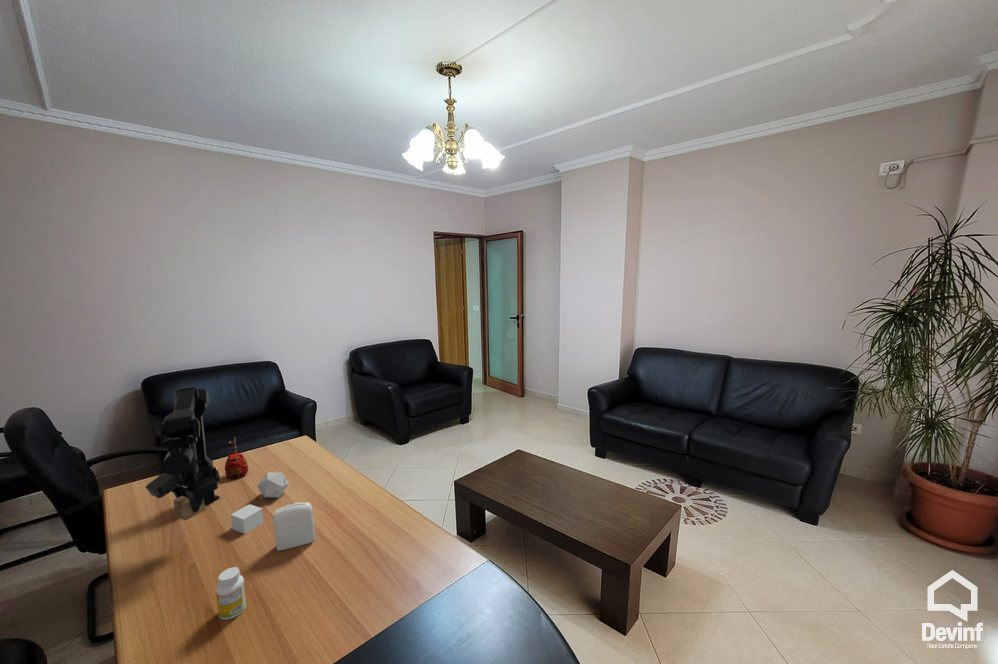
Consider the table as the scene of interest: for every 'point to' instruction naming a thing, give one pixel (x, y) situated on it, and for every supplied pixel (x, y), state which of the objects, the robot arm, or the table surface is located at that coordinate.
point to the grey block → (247, 518)
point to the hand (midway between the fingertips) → (190, 509)
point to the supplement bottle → (230, 593)
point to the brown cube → (185, 508)
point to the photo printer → (294, 526)
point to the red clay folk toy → (236, 465)
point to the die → (273, 485)
